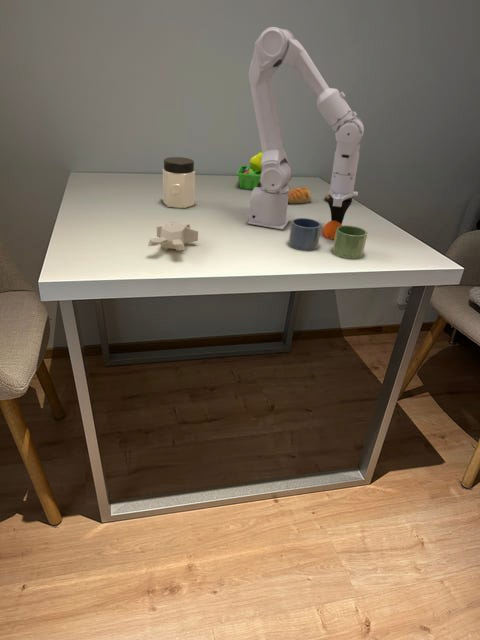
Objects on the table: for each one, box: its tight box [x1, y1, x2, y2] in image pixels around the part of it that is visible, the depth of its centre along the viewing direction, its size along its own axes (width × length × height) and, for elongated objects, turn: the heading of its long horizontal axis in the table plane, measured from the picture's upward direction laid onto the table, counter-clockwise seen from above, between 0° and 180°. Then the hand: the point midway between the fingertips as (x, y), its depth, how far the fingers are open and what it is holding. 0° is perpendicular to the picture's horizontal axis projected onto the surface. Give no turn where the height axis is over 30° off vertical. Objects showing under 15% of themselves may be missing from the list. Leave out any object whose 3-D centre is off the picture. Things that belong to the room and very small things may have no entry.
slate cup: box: [288, 217, 323, 252], centre depth 111 cm, size 7×7×6 cm
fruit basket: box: [236, 150, 263, 190], centre depth 152 cm, size 11×9×11 cm
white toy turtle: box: [147, 221, 199, 252], centre depth 104 cm, size 10×5×15 cm
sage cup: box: [332, 224, 368, 260], centre depth 108 cm, size 7×7×6 cm
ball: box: [322, 220, 343, 240], centre depth 118 cm, size 5×5×5 cm
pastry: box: [288, 187, 312, 205], centre depth 142 cm, size 9×7×4 cm
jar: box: [162, 156, 196, 209], centre depth 129 cm, size 9×8×12 cm
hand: (336, 226), depth 119 cm, fingers closed, pressing on ball
